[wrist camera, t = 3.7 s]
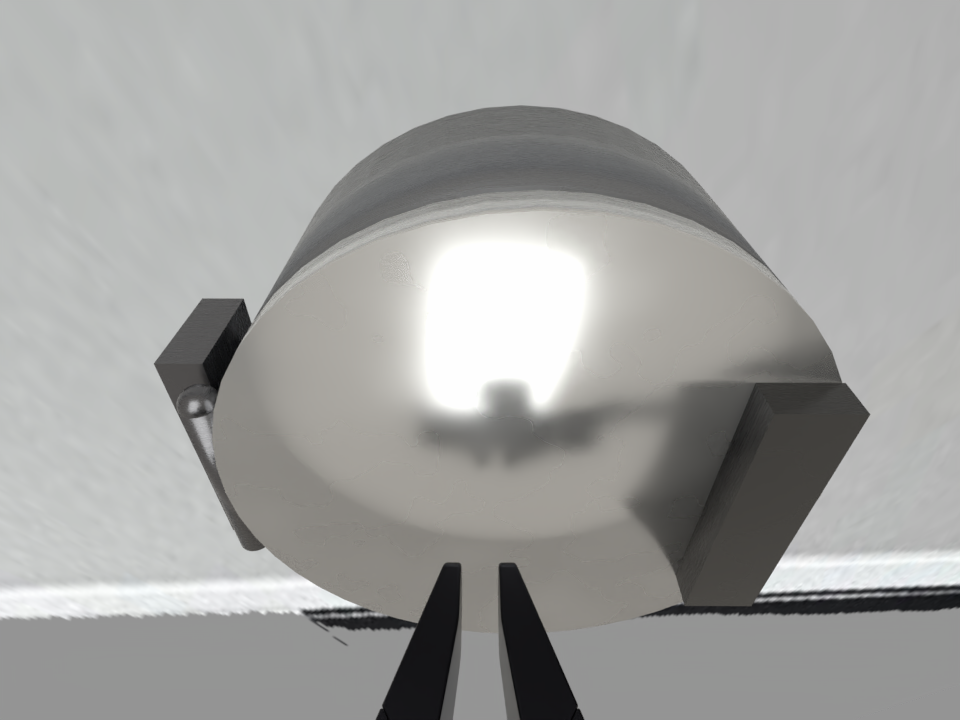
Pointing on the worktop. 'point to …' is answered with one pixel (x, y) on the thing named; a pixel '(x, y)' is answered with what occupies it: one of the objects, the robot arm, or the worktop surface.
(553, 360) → the lid
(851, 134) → the worktop surface
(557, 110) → the pot
